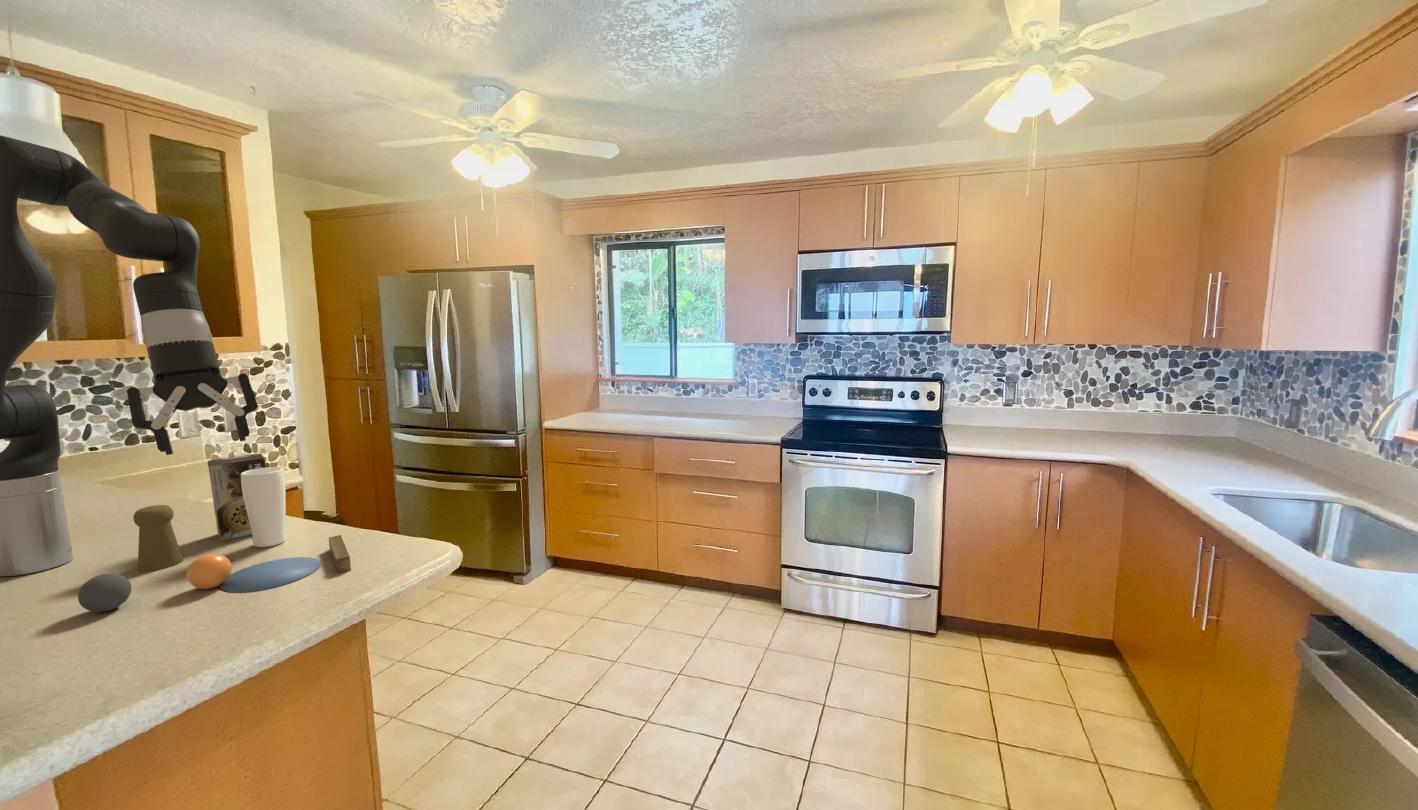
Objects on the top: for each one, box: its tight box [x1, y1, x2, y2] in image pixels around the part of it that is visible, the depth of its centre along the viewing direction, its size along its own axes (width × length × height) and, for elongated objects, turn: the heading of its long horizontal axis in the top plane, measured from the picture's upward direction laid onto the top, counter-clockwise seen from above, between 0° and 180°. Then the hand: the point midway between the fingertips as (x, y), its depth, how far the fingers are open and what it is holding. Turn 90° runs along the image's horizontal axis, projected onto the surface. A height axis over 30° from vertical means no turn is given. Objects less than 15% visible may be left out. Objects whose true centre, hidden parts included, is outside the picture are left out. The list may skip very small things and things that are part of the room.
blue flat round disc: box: [219, 556, 321, 593], centre depth 99 cm, size 14×14×1 cm
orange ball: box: [186, 553, 233, 590], centre depth 94 cm, size 6×6×6 cm
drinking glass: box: [241, 466, 287, 548], centre depth 113 cm, size 7×7×15 cm
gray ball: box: [77, 572, 132, 613], centre depth 86 cm, size 6×6×6 cm
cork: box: [132, 504, 184, 572], centre depth 103 cm, size 6×6×11 cm
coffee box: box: [207, 453, 267, 542], centre depth 120 cm, size 9×6×16 cm
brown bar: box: [328, 534, 352, 574], centre depth 105 cm, size 2×14×2 cm, turn 38°
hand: (207, 447), depth 86 cm, fingers open, 8 cm apart
